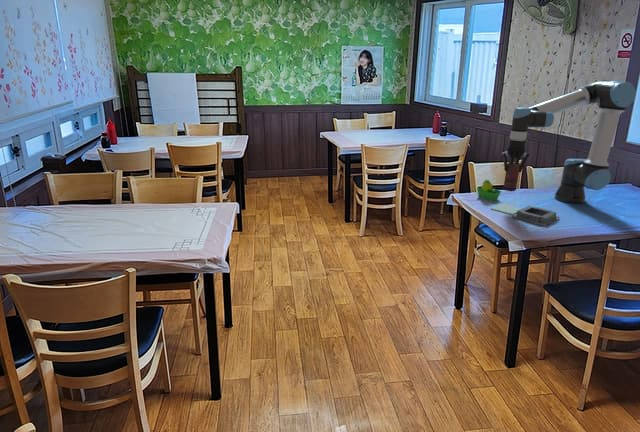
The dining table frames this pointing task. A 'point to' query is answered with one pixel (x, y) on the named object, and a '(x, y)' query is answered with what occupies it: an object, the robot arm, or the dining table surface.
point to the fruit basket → (488, 191)
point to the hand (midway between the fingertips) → (510, 185)
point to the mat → (506, 209)
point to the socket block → (536, 215)
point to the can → (511, 177)
